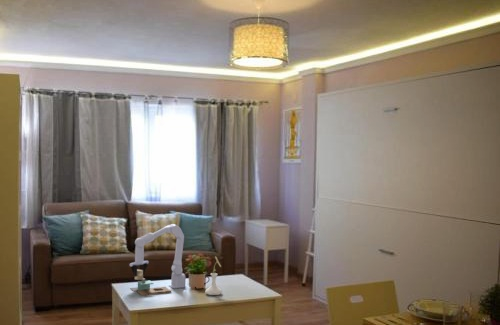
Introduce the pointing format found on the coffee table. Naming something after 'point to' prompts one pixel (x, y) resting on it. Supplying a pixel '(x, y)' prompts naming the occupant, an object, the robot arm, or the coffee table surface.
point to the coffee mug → (208, 278)
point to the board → (154, 291)
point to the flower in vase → (213, 288)
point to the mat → (134, 289)
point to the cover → (144, 284)
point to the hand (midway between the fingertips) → (138, 275)
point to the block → (139, 275)
